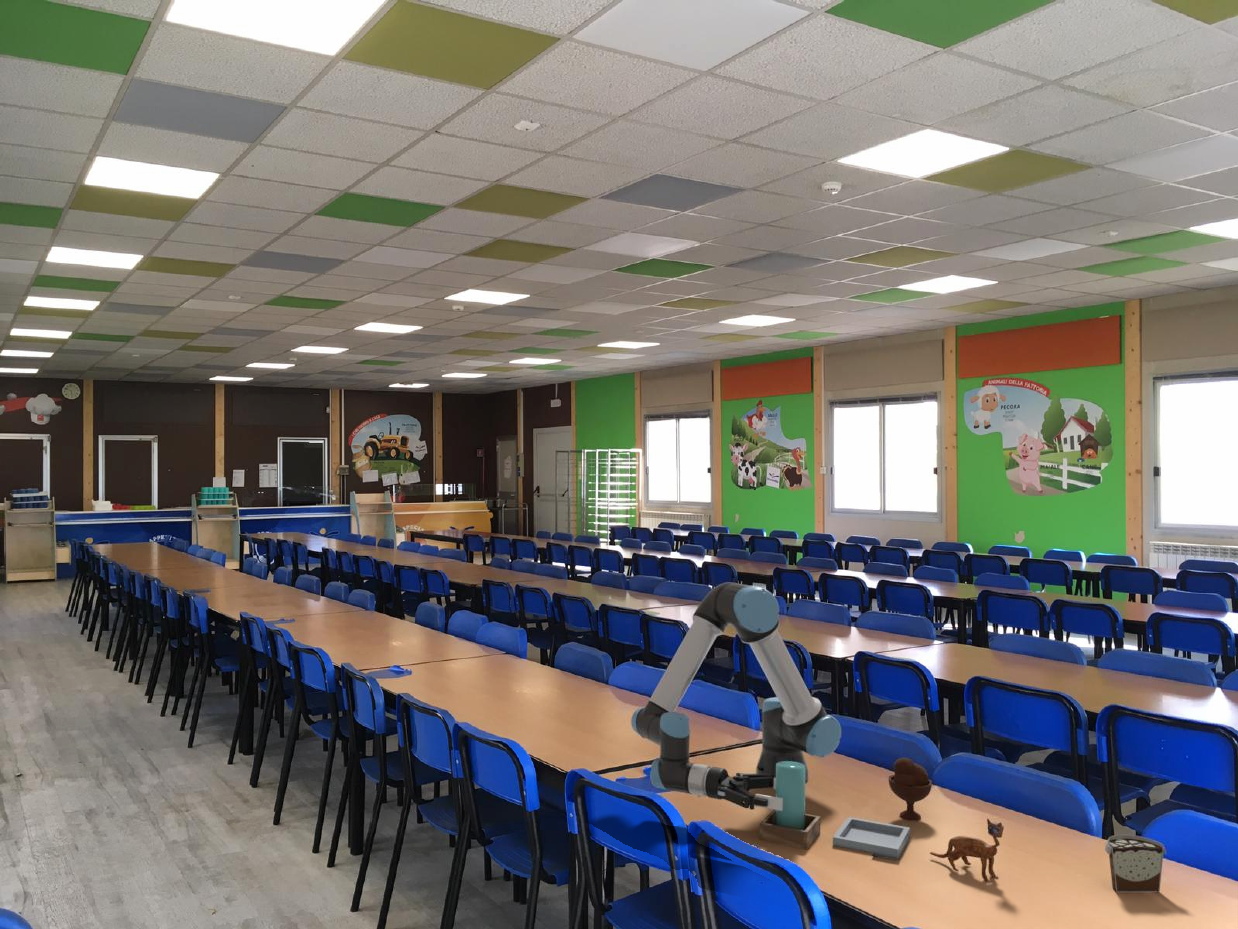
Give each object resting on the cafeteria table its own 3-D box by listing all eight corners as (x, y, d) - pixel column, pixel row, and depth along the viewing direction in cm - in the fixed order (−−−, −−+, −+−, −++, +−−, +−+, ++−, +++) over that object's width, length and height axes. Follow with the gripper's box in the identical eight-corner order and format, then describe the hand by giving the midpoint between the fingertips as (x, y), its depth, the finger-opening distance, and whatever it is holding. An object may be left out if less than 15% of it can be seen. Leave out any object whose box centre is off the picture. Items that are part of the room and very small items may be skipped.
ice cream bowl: (904, 827, 229) (904, 767, 229) (880, 811, 240) (880, 754, 240) (941, 823, 232) (941, 763, 232) (915, 807, 242) (915, 751, 243)
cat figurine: (922, 862, 208) (922, 803, 208) (937, 854, 212) (937, 797, 212) (996, 888, 195) (996, 825, 195) (1010, 879, 199) (1010, 818, 199)
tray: (848, 826, 229) (848, 816, 229) (910, 838, 222) (910, 827, 222) (832, 847, 215) (832, 837, 215) (898, 860, 208) (898, 849, 208)
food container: (1148, 879, 199) (1148, 833, 199) (1166, 892, 193) (1166, 844, 193) (1093, 880, 199) (1093, 833, 199) (1109, 892, 193) (1109, 845, 193)
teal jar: (780, 828, 225) (781, 759, 226) (808, 834, 222) (808, 764, 222) (771, 838, 219) (772, 767, 220) (800, 844, 216) (800, 771, 216)
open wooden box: (774, 826, 229) (774, 808, 229) (820, 835, 223) (820, 816, 223) (759, 842, 218) (759, 823, 218) (807, 851, 213) (807, 832, 213)
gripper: (727, 782, 241) (805, 796, 231) (689, 812, 219) (774, 828, 209) (727, 754, 242) (805, 766, 232) (689, 781, 220) (774, 795, 210)
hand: (791, 796), depth 220 cm, fingers open, 13 cm apart
